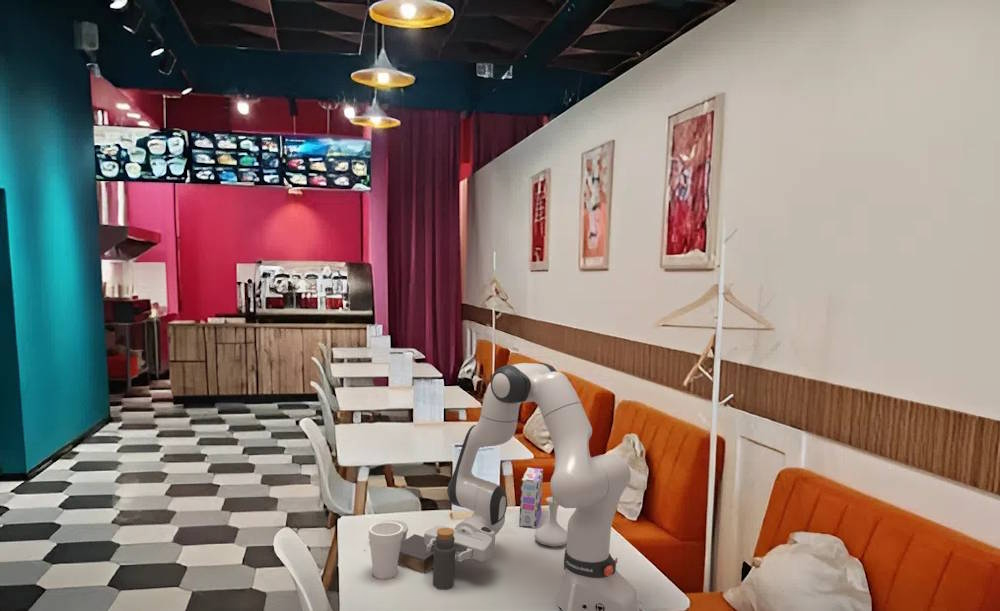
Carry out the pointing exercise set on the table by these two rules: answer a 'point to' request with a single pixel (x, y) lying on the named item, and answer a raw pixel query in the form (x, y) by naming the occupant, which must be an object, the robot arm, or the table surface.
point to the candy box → (531, 497)
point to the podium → (415, 554)
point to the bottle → (444, 559)
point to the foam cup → (385, 548)
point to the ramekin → (404, 525)
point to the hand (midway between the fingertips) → (443, 553)
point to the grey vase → (551, 528)
